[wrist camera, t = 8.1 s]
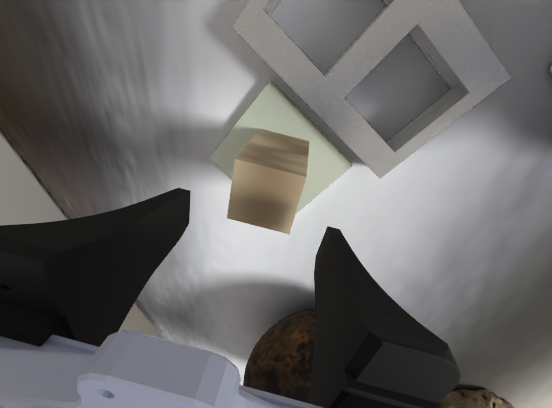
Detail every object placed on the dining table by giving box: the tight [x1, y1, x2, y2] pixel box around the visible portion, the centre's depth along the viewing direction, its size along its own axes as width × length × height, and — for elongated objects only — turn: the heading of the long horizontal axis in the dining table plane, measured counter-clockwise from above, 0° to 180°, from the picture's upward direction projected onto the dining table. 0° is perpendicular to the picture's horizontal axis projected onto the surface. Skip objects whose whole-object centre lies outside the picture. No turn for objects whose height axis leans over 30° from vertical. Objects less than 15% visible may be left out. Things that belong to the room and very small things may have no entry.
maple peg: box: [227, 129, 310, 234], centre depth 18 cm, size 4×4×7 cm
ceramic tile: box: [208, 81, 353, 214], centre depth 21 cm, size 9×8×1 cm
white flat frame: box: [232, 0, 511, 178], centre depth 16 cm, size 14×9×2 cm, turn 48°
